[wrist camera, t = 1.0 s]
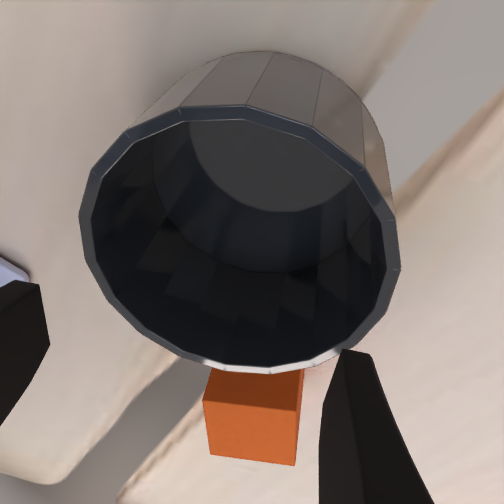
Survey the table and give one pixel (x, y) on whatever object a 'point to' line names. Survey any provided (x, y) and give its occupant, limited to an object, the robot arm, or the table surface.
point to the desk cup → (247, 217)
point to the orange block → (254, 415)
